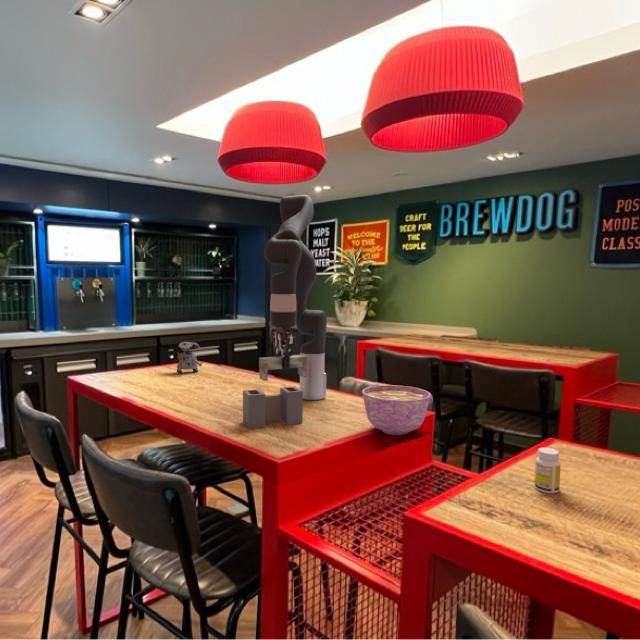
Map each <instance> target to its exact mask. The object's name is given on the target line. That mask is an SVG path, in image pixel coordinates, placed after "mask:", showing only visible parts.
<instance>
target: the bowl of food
mask: <svg viewBox="0 0 640 640" xmlns="http://www.w3.org/2000/svg"><path fill="white" fill-rule="evenodd" d="M361 393H362V399H363V404H364V408H365V413H366V417H367V420H368V421H369V424H371V425H372V426H373V427H375V428H376V429H377V430H380V431H381V430H382V431H383V432H382V431H381V432H382V433H384V434H387V435H392V436H403V435H407V434H409V433H410V432H412V431H415V430H417V429H419V428H420V426H421V425H422V424H423V422H424V420H425V418H426V415H427V411H428V408H429V403H430V400H431V395H432V394H431V393H430V392H429V391H427V390H425V389H422V388H419V387H414V386H408V385H407V386H405V385H397V384H395V385H393V384H385V385H380V384H378V385H372V386H368V387H365V388H363V389H362V391H361Z"/></svg>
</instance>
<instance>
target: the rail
mask: <svg viewBox="0 0 640 640" xmlns="http://www.w3.org/2000/svg"><path fill="white" fill-rule="evenodd" d="M258 368H259V379H260V380H262V381H263V382H265V381H266V382H267V381H268V379H269V372H268V371H269V370H282V356H264V357H258ZM293 368H294V369H297V375H298V376H299V377H300V376H302V377H307V356H305V355H300V354H293V356H291V357H290V369H293Z"/></svg>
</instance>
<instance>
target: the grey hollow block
mask: <svg viewBox="0 0 640 640" xmlns="http://www.w3.org/2000/svg"><path fill="white" fill-rule="evenodd" d="M279 389H280V390H279V393H275V394H266V393H264V392H263V391H262V390H260V389H259V388H258V389H256V388H255V389H246V390H245V389H244V390H242V423H243V424H244V426H246V428H247V429H248V430H249V429H250V430H251V429H260V428H261V429H262V428H265V427H266V423H268V422H277V421H280V422H281V421H282V422H283V423H284V424H286V426H287V425H298V424H303V408H304V407H303V403H304V402H303V401H304V399H303V391H302V390H300V388H299V387H296V386H284V387H282V386H281V387H279Z"/></svg>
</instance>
